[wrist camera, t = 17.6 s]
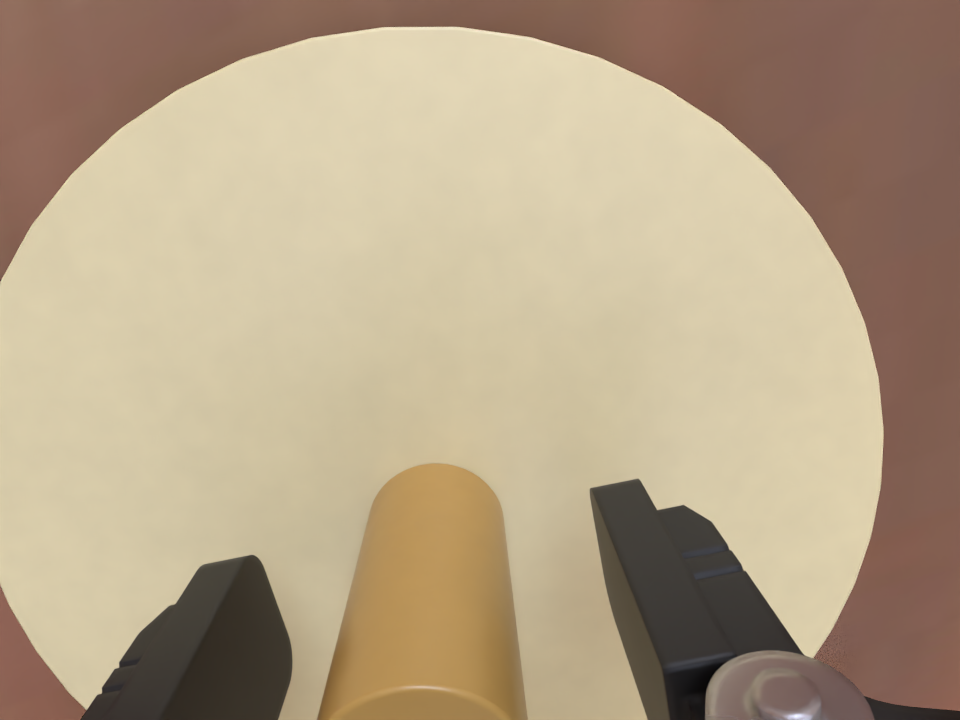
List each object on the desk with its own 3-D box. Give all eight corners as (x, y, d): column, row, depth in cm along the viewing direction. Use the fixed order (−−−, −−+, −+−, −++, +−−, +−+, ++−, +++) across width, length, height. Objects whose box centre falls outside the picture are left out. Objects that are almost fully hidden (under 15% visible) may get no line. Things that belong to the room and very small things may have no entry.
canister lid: (183, 851, 15) (11, 1284, 9) (-151, 157, 10) (-922, 157, 4) (859, 727, 14) (1122, 1104, 9) (829, -64, 10) (1355, -378, 4)
